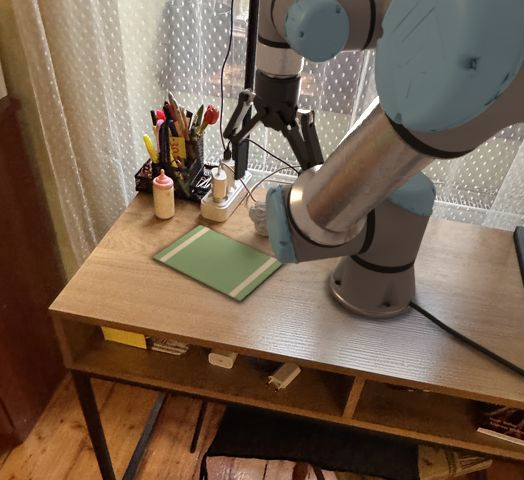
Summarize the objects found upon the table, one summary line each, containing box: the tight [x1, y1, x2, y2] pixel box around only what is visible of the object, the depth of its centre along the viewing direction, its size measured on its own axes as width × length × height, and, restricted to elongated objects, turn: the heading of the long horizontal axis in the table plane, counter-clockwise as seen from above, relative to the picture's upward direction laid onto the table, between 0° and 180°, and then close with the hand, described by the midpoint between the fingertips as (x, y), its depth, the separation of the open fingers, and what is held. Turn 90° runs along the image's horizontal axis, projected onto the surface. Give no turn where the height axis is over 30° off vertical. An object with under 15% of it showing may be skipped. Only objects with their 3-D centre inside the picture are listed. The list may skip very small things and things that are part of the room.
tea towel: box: [152, 224, 284, 303], centre depth 101 cm, size 20×14×1 cm
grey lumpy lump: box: [247, 199, 269, 237], centre depth 106 cm, size 6×7×7 cm
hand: (268, 189), depth 102 cm, fingers open, 13 cm apart
